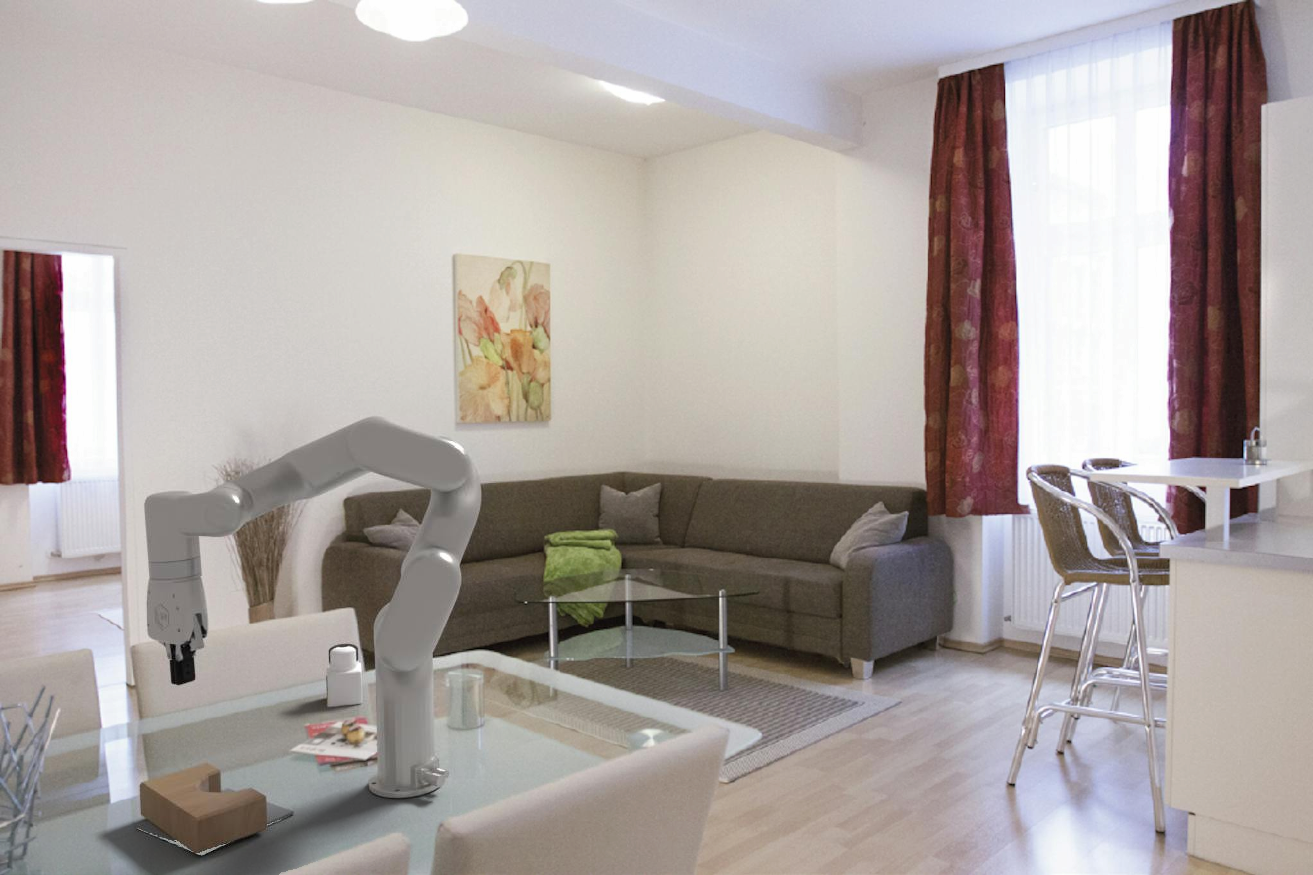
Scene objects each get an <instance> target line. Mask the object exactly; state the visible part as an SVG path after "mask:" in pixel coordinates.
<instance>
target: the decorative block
mask: <svg viewBox="0 0 1313 875" xmlns="http://www.w3.org/2000/svg"><path fill="white" fill-rule="evenodd" d="M221 791H222V774H221V769H220V768H217V767H215V766H214V765H212V764H210V763H209V762H205V763H202V764H198V765H195V766H192V767H188V768H185V769H181V770H179V771H175V772H172V773H168V774H164V775H161V776H158V777H155V778H152V779H148V780H144V781H142V782H140V784H139V805H140V807H139V809H140V815H141V816H142V817H143V818H145V819H146V820H149V821H150V822H152V823H153V824H155V825H156V826H157V827H159V828H160V829H162V830H163V831H164V832H166V833H167V834H169V835H170V836H171V837H173V838H174V839H176V840H177V841H179V842H180V843H181V844H183V845H184V846H186V847H187V848H188V849H190V850H191V851H193V852H194V853H200V852H202V851H205V850H207V849H211V848H213V847H217V846H219V845H223V844H227V843H229V842H232V843H234V842H233V841H235V840H237V841H239V840H242V839H244V838H247V837H250V836H253V835H256V834H258V833H261V832H263V831H265V830H267V828H268V827H267V804H266V802H267V796H266V795H264V793H262V792H260V791H258V790H256V789H255V788H252V787H247V788H244V789H238V790H235V791H233V792H222V793H221ZM241 838H242V839H241ZM238 839H239V840H238ZM235 842H236V841H235ZM194 853H193V854H194Z"/></svg>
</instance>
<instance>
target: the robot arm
mask: <svg viewBox="0 0 1313 875" xmlns="http://www.w3.org/2000/svg"><path fill="white" fill-rule="evenodd" d="M369 473H374V474H377V475H380V476H381V477H385V478H389V479H393V480H397V481H400V482H401V483H406V484H408V485H409V484H410V485H414V486H417V487H420V488H424V489H427V490H430V500H429V504H428V506H427V508H426V511H425V513H424V516H423V519H422V522H421V523H420V527H419V529H418V531H417V534H416V535H415V538H414V540H413V542H412V544H411V546H410V549H409V550H408V551H407V553H406V556H405V557H404V559H403V561H402V564H401V568H400V575H401V576H400V580H399V581H398V584H397V586H396V587H395V588H396V589H395V591H394V593H393V595H392V598H391V601H390V602H388V603H387V604H386V605H384V606H383V607H382V608H381V609H380V611H378V614H377V615H376V618H375V620H374V623H373V646H374V663H375V664H374V668H375V672H374V673H375V674H374V675H375V709H376V710H375V711H376V712H375V713H376V718H375V719H376V743H377V744H376V745H377V746H376V748H377V749H376V750H377V771H376V772H375V773H373V774H372V775H371V776H370V778H369V779H368V789H369V790H370V792H372V793H373V794H374V795H377V796H379V797H383V798H388V799H404V798H405V799H407V798H414V797H418V796H422V795H426V794H428V793H432V792H433V791H435V790H437V789H438V788H441V787H443V785H444V784H445V782H446V780H447V779H448V778H449V776H450V771H449V770H448V769H444V768H442V767H440V757H437V756H436V754H435V753H436V752H435V750H436V749H435V745H436V743H435V713H434V712H435V711H434V710H435V709H434V703H435V702H434V693H435V692H434V691H435V690H434V687H435V686H434V658H433V657H434V656H433V652H434V651H435V649H436V647H437V644H438V642H439V640H440V638H441V636H442V633H443V631H444V629H445V626H446V625H447V622H448V620H449V617H450V615H451V613H452V611H453V609H454V606H455V603H456V601H457V599H458V596H459V594H460V589H461V587H462V572H461V567H460V564H461V563H462V562H461V561H462V560H463V559H462V558H463V556H464V554H465V551H466V549H467V546H468V544H469V542H470V539H471V536H472V534H473V532H474V528H475V526H476V524H477V521H478V518H479V514H480V511H481V504H482V487H481V481H480V477H479V473H478V470H477V467H476V465H475V463H474V462H473V460H472V458H471V457H470V456H469V453H468V451H467V450H466V448H464V447H463V446H462V444H461V443H460V442H458V441H457V440H455V439H453V438H451V437H448V436H434V435H431V434H428V433H424V432H421V431H417V430H414V429H411V428H409V427H404V426H402V425H399V424H398V423H397V424H396V423H394V422H392V421H391V420H389V419H387V418H385V417H382V416H377V415H374V416H373V415H372V416H368V417H365V418H362V419H361V420H358V421H356V422H353V423H351V424H348V425H347V426H345V427H342V428H340V429H338V430H336V431H333V432H330V433H329V434H326V435H324V436H322V437H320V438H318V439H314V440H313V441H310V442H309V443H305V444H304V445H302V446H300V447H297V448H294V449H293V450H291V451H288V452H286V453H285V454H284V455H282V456H281V457H278V458H277V459H275V460H273V461H271V462H269V463H266V464H265V465H262V466H260V467H258V468H255V469H253V470H251V471H249V472H247V473H245V474H241V475H240V476H238V477H236V478H233V479H231V480H228V481H227V482H223V483H222V484H220V485H218V486H216V487H214V488H212V489H211V490H209V491H206V492H200V493H192V492H191V491H186V490H185V491H184V490H172V491H171V490H170V491H161V492H156V493H155V492H154V493H152V494H150V495H147V497H146V498H145V500H144V504H143V506H144V509H143V510H144V521H145V522H144V524H145V537H146V547H147V548H146V550H147V563H148V564H147V565H148V575H149V576H148V577H149V578H148V583H147V590H146V627H147V628H146V631H147V636H148V637H149V638H150V639H151V640H154V641H155V642H157V641H158V643H159V644H161V645H162V646H164V648H165V651H166V656H167V659H168V660H169V672H170V683H171V684H172V685H176V686H182V685H185V684H188V683H191V682H194V681H195V680H196V666H195V657H196V656H197V651H198V650H202V649H204V648H205V642H204V639H205V638H207V637H208V634H209V617H208V607H207V600H206V594H205V587H204V582H203V579H202V577H203V572H202V558H201V547H200V546H201V545H200V537H209V538H223V537H224V538H225V537H228V536H231V535H233V534H235V533H236V532H238V531H239V530H240V529H241V528H242V527H243V526H244V524H247V523H248V522H250V521H252V520H254V519H257V518H258V517H260V516H262V515H265V514H267V513H269V512H271V511H274V510H276V509H278V508H281V507H283V506H285V505H288V504H291V503H293V502H298V501H302V500H311V499H313V498H316V497H319V496H321V495H324V494H326V493H328V492H330V491H332V490H334V489H335V490H336V489H337V488H339V487H341V486H344V485H345V484H347V483H350V482H351V481H354V480H356V479H359V478H360V477H363V476H365V475H367V474H369Z"/></svg>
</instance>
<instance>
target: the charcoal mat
mask: <svg viewBox="0 0 1313 875" xmlns="http://www.w3.org/2000/svg"><path fill="white" fill-rule="evenodd" d="M233 791H236V790H234V789H231V788H229V787H228V788H227V787H226V788H225V789H221V793H222V792H233ZM266 804H267V824H270V823H272V822H275V821H277V820H280V819H284V818H286V817H288V818H290V817H291V816H290V815H292V816H294V815H293V814H294V813H295V812H294V810H291V809H289V808H286V807H282V806H280V805H276V804H275V803H271V802H268V801H266ZM289 816H290V817H289ZM286 819H287V818H286ZM284 820H285V819H284ZM135 827H136V828H139V829H141V830H143V831H146V832H148V833H152V834H153V835H157V836H158V837H162V838H166V839H168V840H172V841H174V840H176V839H174V838H173V837H171V836H170V835H169V834H167V833H166V832H164V831H163V830H162V829H160V828H159V827H157V826H156V825H155V824H153V823H152V822H150V821H149V820H148V819H146V820H144V821H142V822H139V823H137V824H134V828H135ZM174 842H176V841H174Z"/></svg>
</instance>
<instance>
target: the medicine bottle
mask: <svg viewBox="0 0 1313 875" xmlns="http://www.w3.org/2000/svg"><path fill="white" fill-rule="evenodd" d="M325 672H326V676H325V677H326V678H325V680H326V681H325V683H326V707H327V708H334V707H335V708H337V707H343V706H344V707H346V706H352V705H353V706H354V705H362V704H363V677H362V676H363V675H362V663H361V662H359V647H358V646H357V645H355V644H353V643H340V644H336V645H333V646H332V647H330V648H329V649H328V665H327V666H326V670H325Z"/></svg>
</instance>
